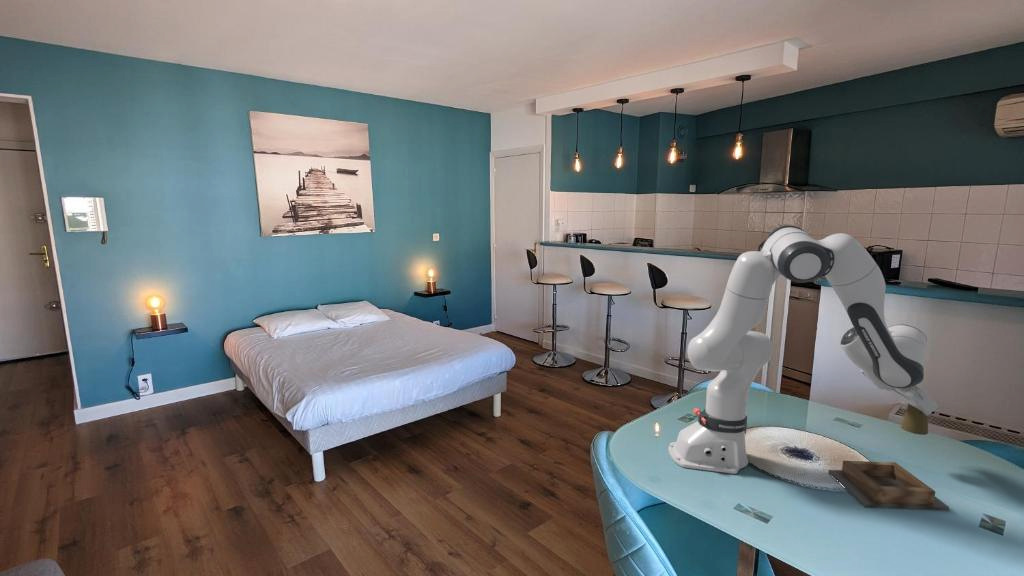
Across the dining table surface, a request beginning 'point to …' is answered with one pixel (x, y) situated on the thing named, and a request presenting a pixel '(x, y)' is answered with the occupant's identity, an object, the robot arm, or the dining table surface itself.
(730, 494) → the dining table surface
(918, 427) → the cork
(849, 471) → the collar
